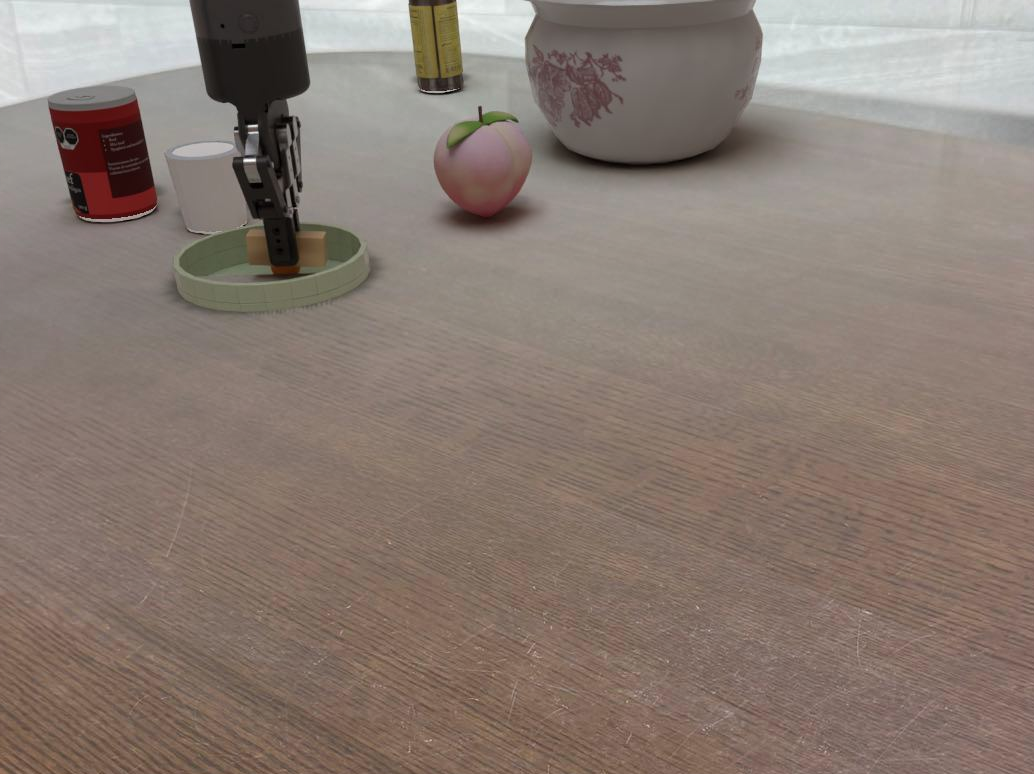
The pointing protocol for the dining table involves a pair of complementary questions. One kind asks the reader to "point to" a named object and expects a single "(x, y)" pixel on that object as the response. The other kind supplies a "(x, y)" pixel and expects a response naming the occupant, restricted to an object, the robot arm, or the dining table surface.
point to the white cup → (207, 185)
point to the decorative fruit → (483, 162)
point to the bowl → (267, 271)
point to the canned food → (103, 151)
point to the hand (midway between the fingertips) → (287, 260)
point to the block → (308, 244)
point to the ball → (285, 270)
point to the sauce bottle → (436, 44)
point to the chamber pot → (642, 74)
